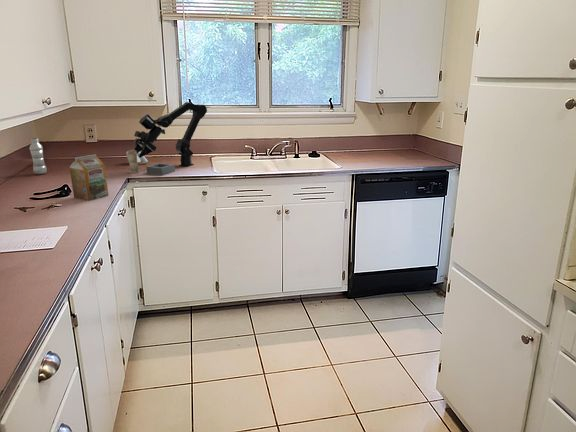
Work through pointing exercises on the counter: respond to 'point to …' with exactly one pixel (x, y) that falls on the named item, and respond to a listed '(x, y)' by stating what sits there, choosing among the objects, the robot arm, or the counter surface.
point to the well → (160, 169)
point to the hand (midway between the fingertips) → (136, 155)
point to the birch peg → (133, 161)
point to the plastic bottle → (37, 157)
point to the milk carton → (88, 178)
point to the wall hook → (138, 158)
